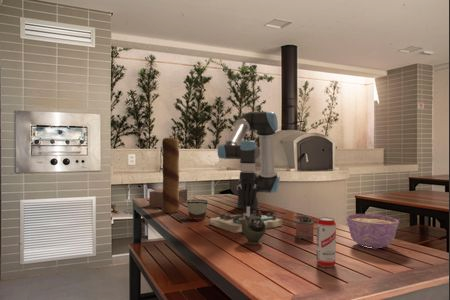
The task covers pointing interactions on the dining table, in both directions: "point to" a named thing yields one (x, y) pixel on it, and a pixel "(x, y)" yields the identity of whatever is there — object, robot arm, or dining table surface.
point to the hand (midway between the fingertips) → (246, 219)
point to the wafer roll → (170, 175)
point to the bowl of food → (372, 229)
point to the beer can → (326, 242)
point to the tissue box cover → (157, 197)
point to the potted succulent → (304, 227)
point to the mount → (236, 227)
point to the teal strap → (261, 218)
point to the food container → (197, 208)
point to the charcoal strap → (241, 215)
